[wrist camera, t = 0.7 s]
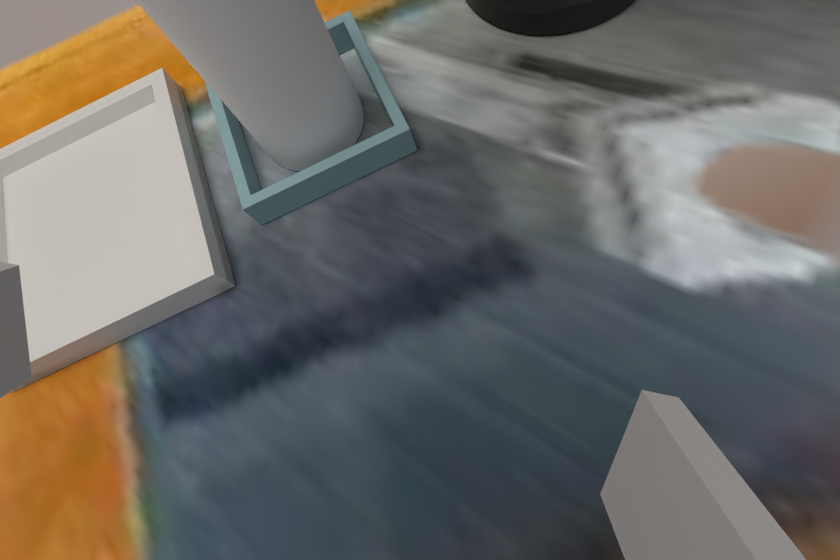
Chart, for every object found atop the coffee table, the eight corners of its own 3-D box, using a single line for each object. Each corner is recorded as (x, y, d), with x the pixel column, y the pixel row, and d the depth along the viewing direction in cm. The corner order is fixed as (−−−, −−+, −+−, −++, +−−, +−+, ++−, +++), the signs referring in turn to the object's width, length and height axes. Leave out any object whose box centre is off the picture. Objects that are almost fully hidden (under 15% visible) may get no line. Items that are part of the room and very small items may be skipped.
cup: (380, 92, 36) (285, -149, 22) (336, 183, 34) (198, -15, 20) (292, 74, 39) (153, -155, 24) (246, 157, 37) (64, -35, 22)
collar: (223, 103, 39) (205, 82, 37) (359, 36, 39) (349, 10, 36) (261, 225, 35) (242, 209, 32) (417, 150, 34) (409, 128, 32)
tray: (1, 179, 42) (-29, 163, 39) (182, 89, 41) (162, 67, 38) (14, 391, 34) (-23, 387, 32) (235, 286, 33) (214, 274, 31)
